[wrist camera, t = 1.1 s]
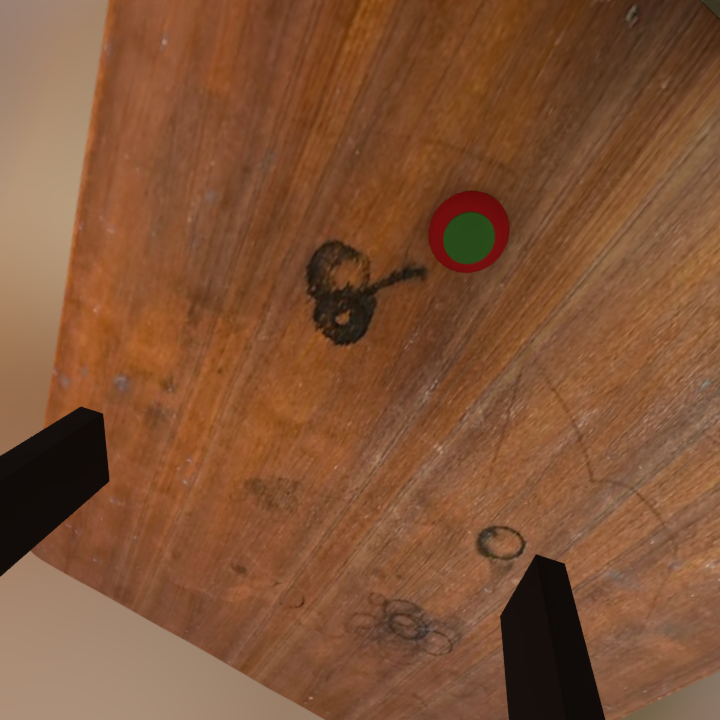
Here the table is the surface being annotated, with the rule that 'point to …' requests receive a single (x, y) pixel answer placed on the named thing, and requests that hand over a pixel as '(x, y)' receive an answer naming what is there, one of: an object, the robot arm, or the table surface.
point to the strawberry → (469, 231)
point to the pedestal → (713, 6)
